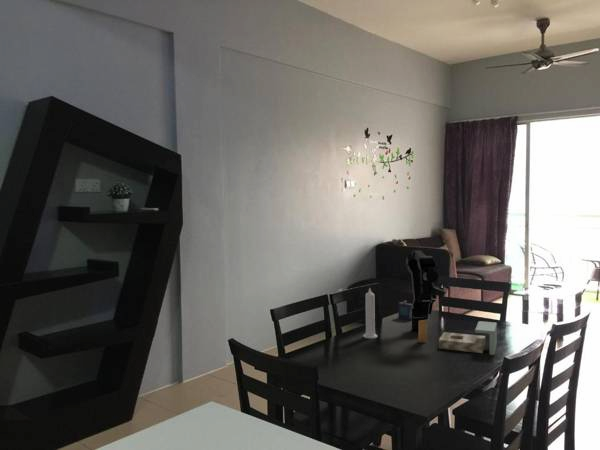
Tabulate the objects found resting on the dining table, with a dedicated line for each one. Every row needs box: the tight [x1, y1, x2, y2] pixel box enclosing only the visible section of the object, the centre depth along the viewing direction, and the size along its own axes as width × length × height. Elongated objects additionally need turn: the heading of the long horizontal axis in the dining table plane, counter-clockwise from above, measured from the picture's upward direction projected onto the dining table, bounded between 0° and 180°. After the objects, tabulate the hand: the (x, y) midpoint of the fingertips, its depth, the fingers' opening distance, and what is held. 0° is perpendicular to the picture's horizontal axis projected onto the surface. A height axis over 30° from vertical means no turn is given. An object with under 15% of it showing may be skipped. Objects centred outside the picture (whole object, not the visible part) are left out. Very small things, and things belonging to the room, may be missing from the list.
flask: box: [398, 300, 413, 321], centre depth 286 cm, size 9×3×11 cm, turn 44°
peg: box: [418, 319, 428, 344], centre depth 241 cm, size 4×4×10 cm
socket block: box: [438, 331, 486, 354], centre depth 233 cm, size 19×14×4 cm
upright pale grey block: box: [474, 320, 498, 356], centre depth 228 cm, size 8×16×11 cm, turn 155°
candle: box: [363, 287, 378, 340], centre depth 251 cm, size 7×7×25 cm
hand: (428, 314), depth 240 cm, fingers open, 9 cm apart
